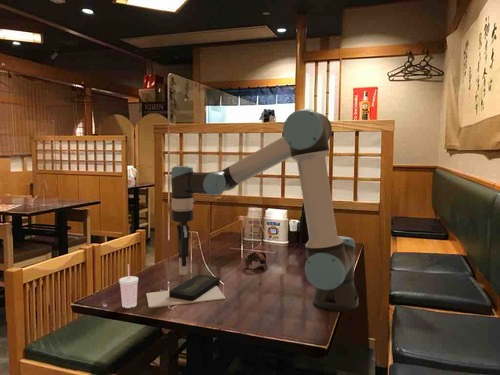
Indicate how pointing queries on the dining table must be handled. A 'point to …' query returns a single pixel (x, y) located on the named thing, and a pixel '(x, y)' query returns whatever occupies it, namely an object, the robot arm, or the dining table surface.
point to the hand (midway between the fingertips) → (183, 273)
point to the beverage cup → (129, 290)
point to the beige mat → (164, 300)
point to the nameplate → (194, 287)
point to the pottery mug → (256, 259)
